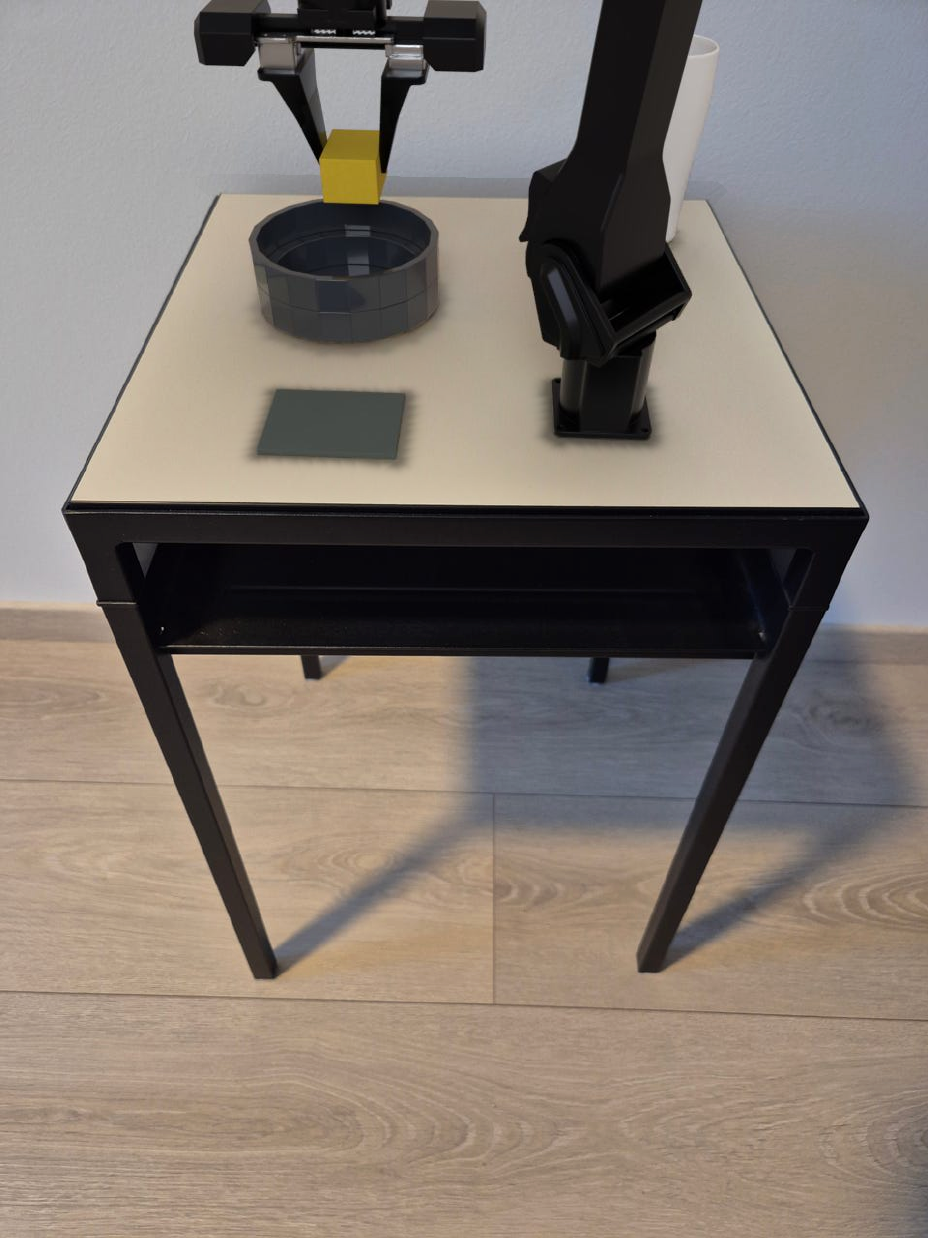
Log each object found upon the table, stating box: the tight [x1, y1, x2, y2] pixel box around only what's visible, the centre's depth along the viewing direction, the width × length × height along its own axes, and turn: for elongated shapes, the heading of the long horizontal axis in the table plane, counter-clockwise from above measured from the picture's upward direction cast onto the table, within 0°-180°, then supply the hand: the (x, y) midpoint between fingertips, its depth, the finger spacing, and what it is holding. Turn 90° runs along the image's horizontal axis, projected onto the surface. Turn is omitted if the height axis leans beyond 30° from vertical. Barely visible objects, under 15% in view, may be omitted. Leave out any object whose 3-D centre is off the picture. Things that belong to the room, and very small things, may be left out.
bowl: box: [247, 198, 441, 344], centre depth 67 cm, size 14×14×6 cm
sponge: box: [318, 128, 388, 204], centre depth 63 cm, size 6×4×3 cm, turn 177°
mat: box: [256, 388, 406, 460], centre depth 58 cm, size 7×9×1 cm
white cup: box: [663, 33, 721, 244], centre depth 73 cm, size 7×7×15 cm
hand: (355, 170), depth 63 cm, fingers closed on sponge, 4 cm apart
